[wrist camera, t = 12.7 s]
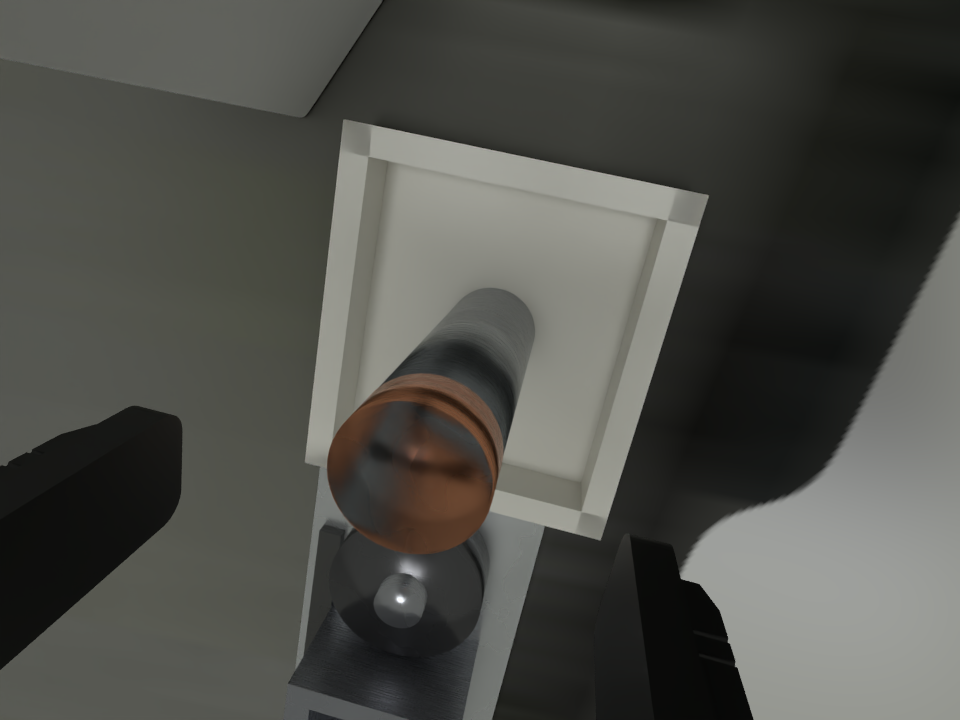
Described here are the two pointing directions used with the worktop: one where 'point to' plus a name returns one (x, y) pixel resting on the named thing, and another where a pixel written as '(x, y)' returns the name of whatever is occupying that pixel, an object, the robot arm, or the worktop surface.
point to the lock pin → (436, 430)
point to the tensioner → (407, 622)
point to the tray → (517, 269)
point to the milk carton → (193, 44)
